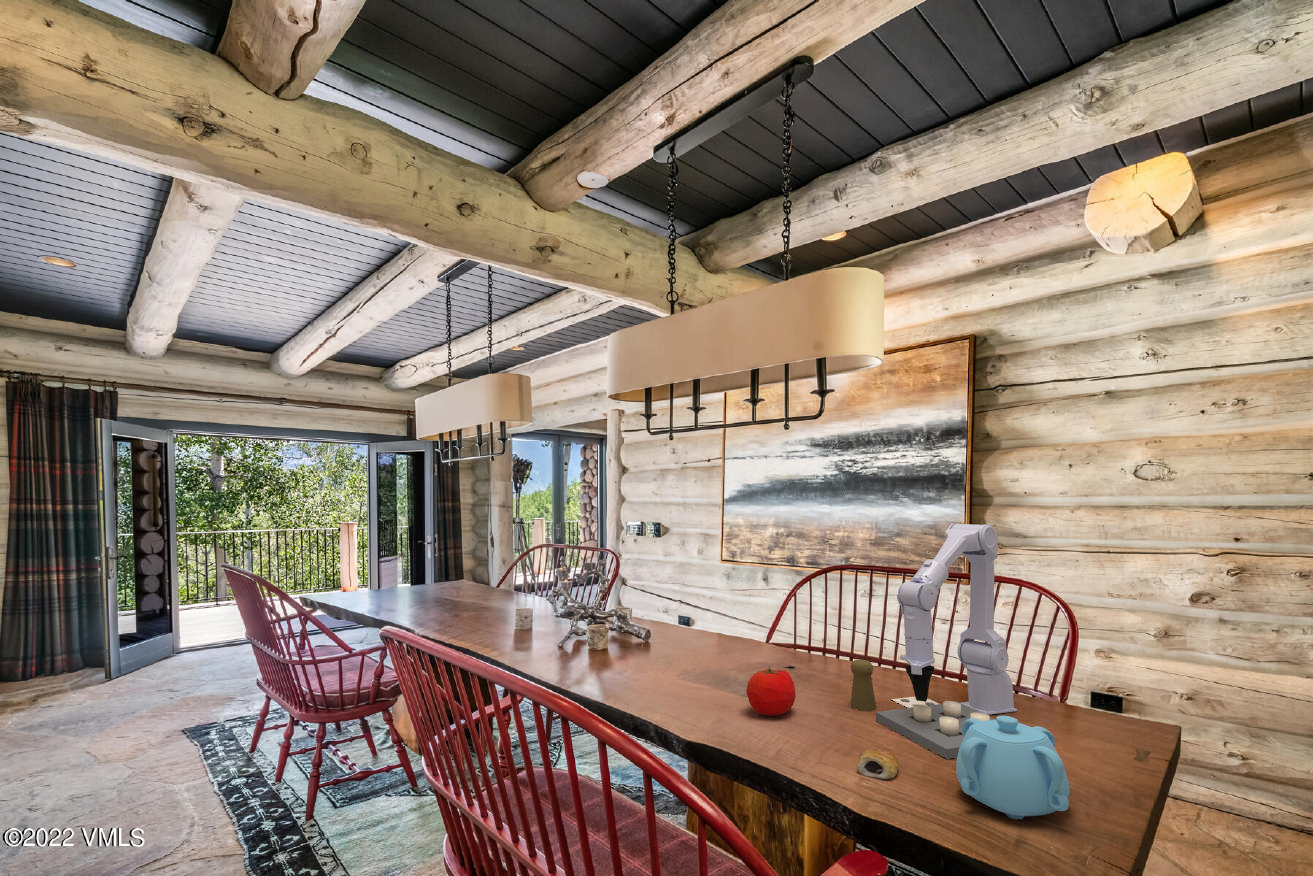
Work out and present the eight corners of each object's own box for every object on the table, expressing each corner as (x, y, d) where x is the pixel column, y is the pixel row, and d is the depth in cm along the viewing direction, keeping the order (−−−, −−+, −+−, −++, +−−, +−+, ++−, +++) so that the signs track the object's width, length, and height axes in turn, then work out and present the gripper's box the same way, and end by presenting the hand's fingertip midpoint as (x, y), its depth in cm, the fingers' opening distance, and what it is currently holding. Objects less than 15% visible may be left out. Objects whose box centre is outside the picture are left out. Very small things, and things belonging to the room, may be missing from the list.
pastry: (869, 757, 120) (868, 737, 121) (905, 765, 117) (904, 744, 117) (855, 775, 113) (854, 753, 113) (893, 784, 109) (892, 762, 109)
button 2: (980, 725, 132) (980, 711, 132) (994, 731, 128) (993, 717, 129) (967, 727, 131) (966, 713, 131) (980, 733, 127) (979, 719, 127)
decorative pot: (964, 773, 113) (960, 696, 114) (1069, 795, 104) (1063, 711, 105) (952, 811, 99) (946, 723, 101) (1071, 839, 90) (1063, 743, 92)
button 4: (950, 729, 129) (949, 715, 130) (963, 736, 126) (962, 721, 126) (936, 731, 128) (935, 717, 129) (948, 738, 125) (948, 723, 125)
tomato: (808, 715, 144) (807, 670, 145) (767, 725, 137) (766, 678, 138) (776, 702, 153) (774, 659, 154) (736, 711, 147) (735, 667, 148)
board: (955, 710, 146) (954, 702, 146) (1036, 746, 125) (1035, 735, 125) (876, 721, 139) (875, 711, 140) (947, 759, 118) (946, 749, 119)
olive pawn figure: (878, 712, 145) (876, 664, 146) (851, 710, 146) (850, 663, 148) (874, 703, 151) (872, 657, 152) (849, 702, 152) (847, 656, 153)
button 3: (923, 717, 137) (923, 703, 137) (935, 722, 134) (934, 709, 134) (910, 719, 136) (909, 705, 136) (921, 724, 133) (920, 710, 133)
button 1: (953, 713, 139) (952, 700, 140) (965, 718, 136) (964, 705, 136) (940, 715, 138) (939, 701, 139) (952, 720, 135) (951, 706, 135)
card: (921, 697, 156) (921, 695, 156) (944, 707, 148) (944, 705, 148) (891, 700, 153) (891, 698, 153) (913, 711, 146) (913, 709, 146)
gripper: (903, 629, 145) (906, 688, 143) (895, 641, 132) (898, 707, 131) (936, 632, 142) (939, 693, 140) (930, 645, 129) (934, 712, 127)
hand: (921, 700), depth 135 cm, fingers closed
